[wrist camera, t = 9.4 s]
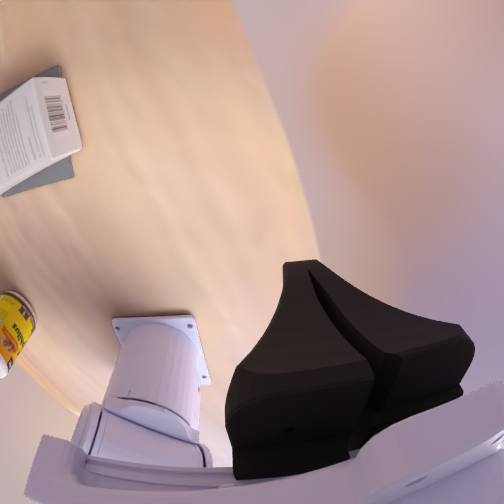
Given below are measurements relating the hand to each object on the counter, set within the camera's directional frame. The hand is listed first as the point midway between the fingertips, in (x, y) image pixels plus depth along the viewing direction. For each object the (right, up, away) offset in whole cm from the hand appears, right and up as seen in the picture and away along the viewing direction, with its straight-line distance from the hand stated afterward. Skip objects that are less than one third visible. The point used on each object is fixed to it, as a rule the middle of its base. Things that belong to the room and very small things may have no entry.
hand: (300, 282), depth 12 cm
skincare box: (-14, +10, +3) cm, 18 cm away
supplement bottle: (-27, -5, +13) cm, 30 cm away
